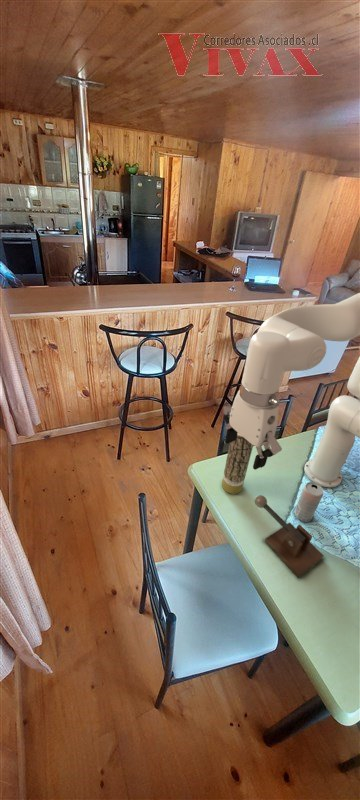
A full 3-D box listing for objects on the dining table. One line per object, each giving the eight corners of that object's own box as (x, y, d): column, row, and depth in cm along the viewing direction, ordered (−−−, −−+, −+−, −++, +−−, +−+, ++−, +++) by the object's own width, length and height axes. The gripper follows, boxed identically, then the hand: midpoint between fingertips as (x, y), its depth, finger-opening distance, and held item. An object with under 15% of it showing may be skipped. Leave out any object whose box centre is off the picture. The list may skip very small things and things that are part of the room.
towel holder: (264, 541, 93) (270, 525, 89) (288, 525, 98) (294, 510, 94) (298, 578, 85) (305, 562, 81) (322, 558, 90) (330, 543, 86)
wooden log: (241, 496, 106) (256, 437, 92) (220, 492, 107) (232, 433, 92) (242, 481, 111) (257, 423, 97) (222, 477, 112) (234, 419, 98)
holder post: (251, 503, 99) (253, 495, 97) (259, 498, 101) (262, 491, 99) (296, 549, 88) (299, 541, 86) (304, 543, 89) (308, 535, 87)
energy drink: (312, 511, 103) (324, 485, 96) (310, 525, 99) (323, 498, 92) (295, 505, 104) (306, 479, 98) (292, 517, 100) (303, 491, 93)
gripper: (304, 409, 63) (282, 471, 73) (243, 369, 75) (231, 428, 85) (277, 420, 60) (258, 484, 69) (217, 377, 71) (208, 437, 81)
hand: (243, 453), depth 77 cm, fingers open, 9 cm apart
